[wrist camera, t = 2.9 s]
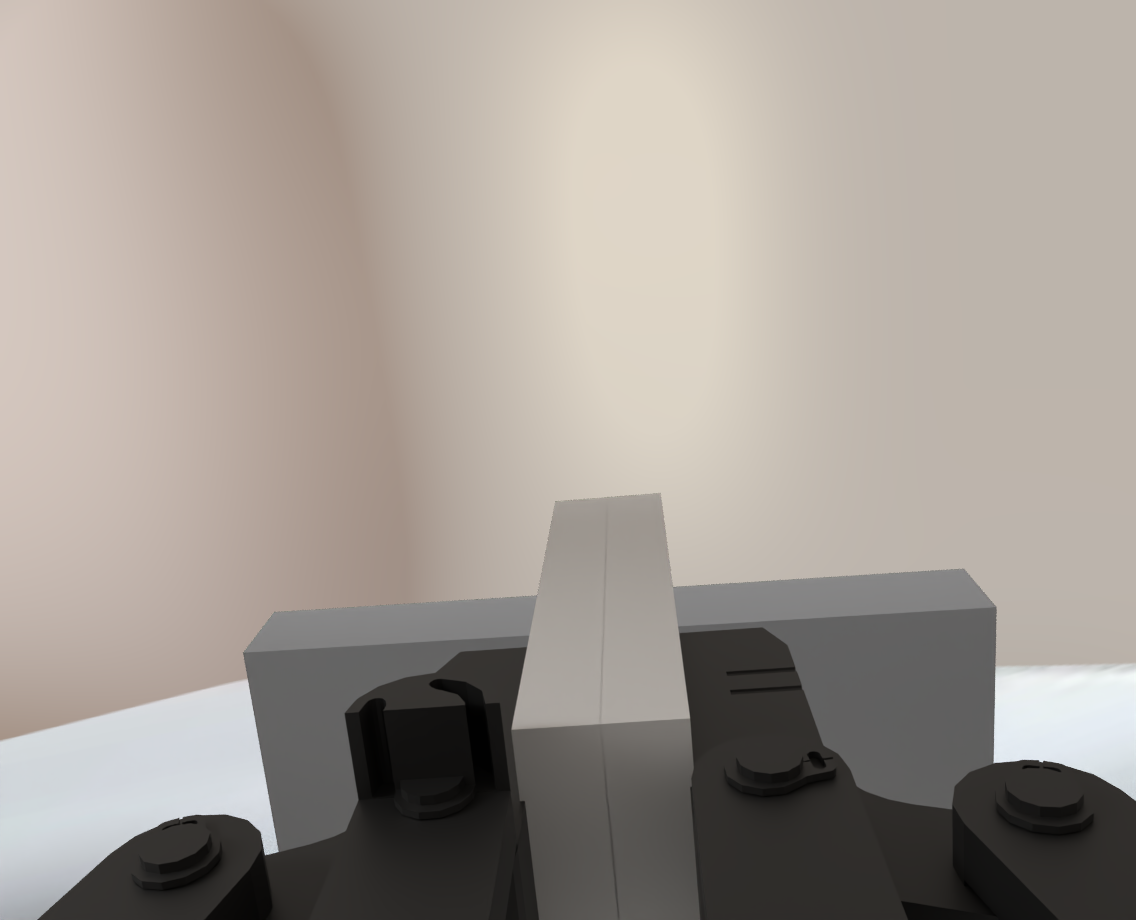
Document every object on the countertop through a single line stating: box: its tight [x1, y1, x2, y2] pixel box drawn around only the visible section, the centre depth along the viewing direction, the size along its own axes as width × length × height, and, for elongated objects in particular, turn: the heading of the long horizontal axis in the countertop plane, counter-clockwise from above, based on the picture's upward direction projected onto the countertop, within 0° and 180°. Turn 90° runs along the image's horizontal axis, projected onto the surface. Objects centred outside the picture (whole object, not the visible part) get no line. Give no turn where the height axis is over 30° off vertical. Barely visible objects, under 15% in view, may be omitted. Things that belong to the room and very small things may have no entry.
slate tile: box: [243, 569, 996, 852], centre depth 26 cm, size 16×2×14 cm, turn 87°
